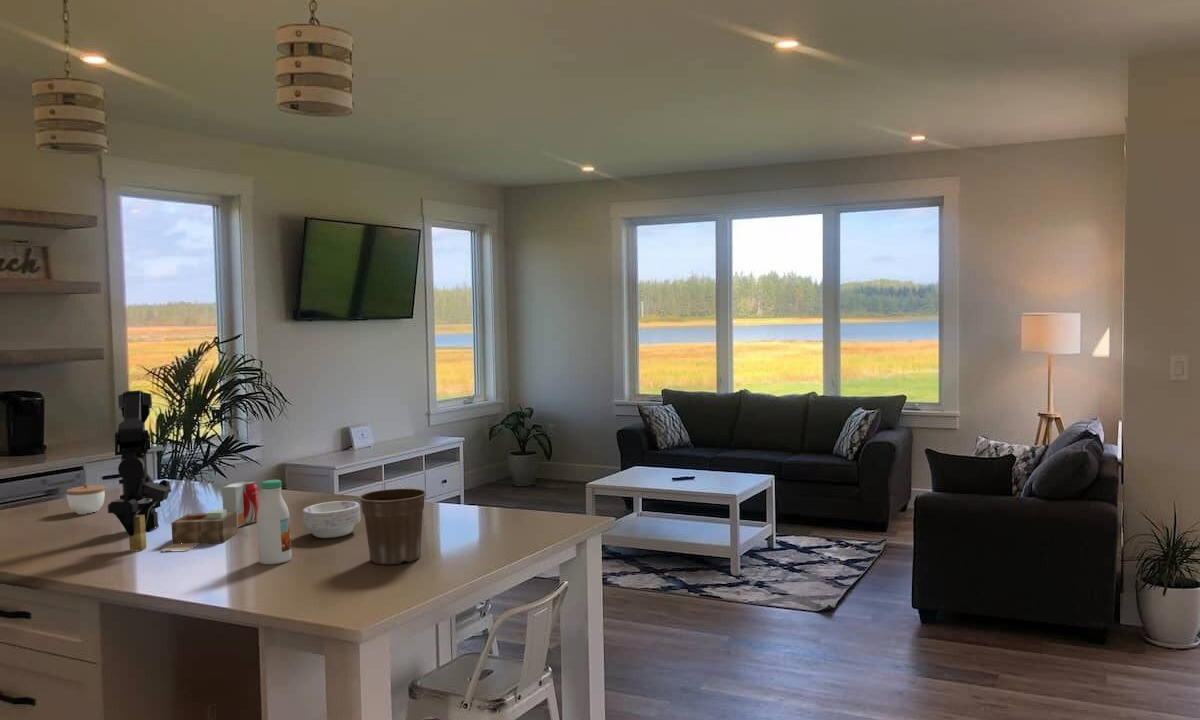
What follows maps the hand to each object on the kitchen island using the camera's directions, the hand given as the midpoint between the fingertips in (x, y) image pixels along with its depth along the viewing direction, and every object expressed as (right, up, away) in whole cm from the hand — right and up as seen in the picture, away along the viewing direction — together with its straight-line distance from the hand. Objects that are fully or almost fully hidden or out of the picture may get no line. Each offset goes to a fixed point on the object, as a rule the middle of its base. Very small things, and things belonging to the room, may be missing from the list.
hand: (137, 532), depth 245 cm
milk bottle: (+42, -4, -16) cm, 45 cm away
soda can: (+18, -3, +29) cm, 34 cm away
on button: (+17, +1, +10) cm, 20 cm away
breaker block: (+14, -4, +10) cm, 17 cm away
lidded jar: (-42, -3, +51) cm, 66 cm away
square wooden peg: (0, -5, 0) cm, 5 cm away
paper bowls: (+49, -3, +11) cm, 50 cm away
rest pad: (+11, -4, 0) cm, 12 cm away
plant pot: (+72, -4, -17) cm, 74 cm away
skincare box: (+16, -3, +25) cm, 30 cm away
